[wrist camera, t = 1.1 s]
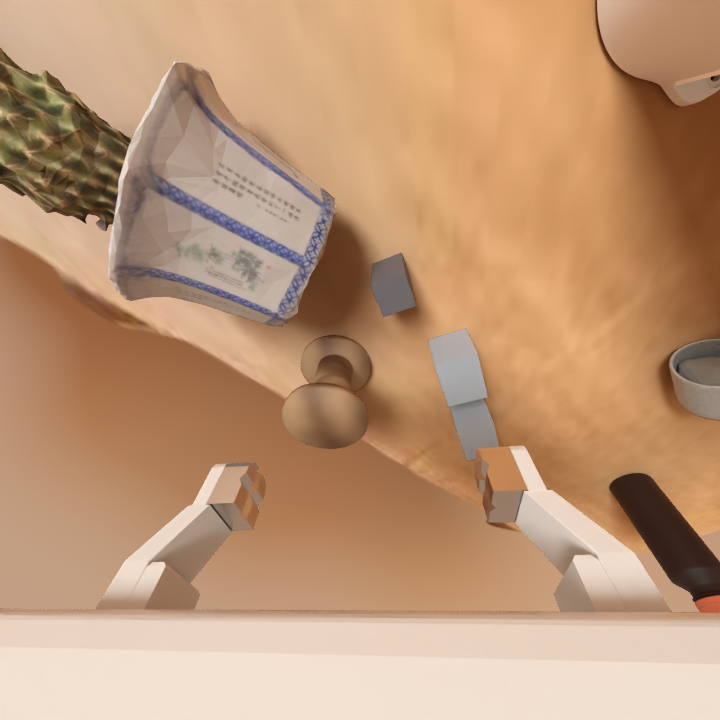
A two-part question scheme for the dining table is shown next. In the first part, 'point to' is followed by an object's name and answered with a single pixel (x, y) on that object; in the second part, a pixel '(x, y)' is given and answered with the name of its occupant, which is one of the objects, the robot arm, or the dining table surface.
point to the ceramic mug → (698, 377)
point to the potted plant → (170, 192)
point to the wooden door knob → (329, 394)
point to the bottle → (670, 539)
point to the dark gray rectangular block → (392, 285)
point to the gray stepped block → (464, 390)
